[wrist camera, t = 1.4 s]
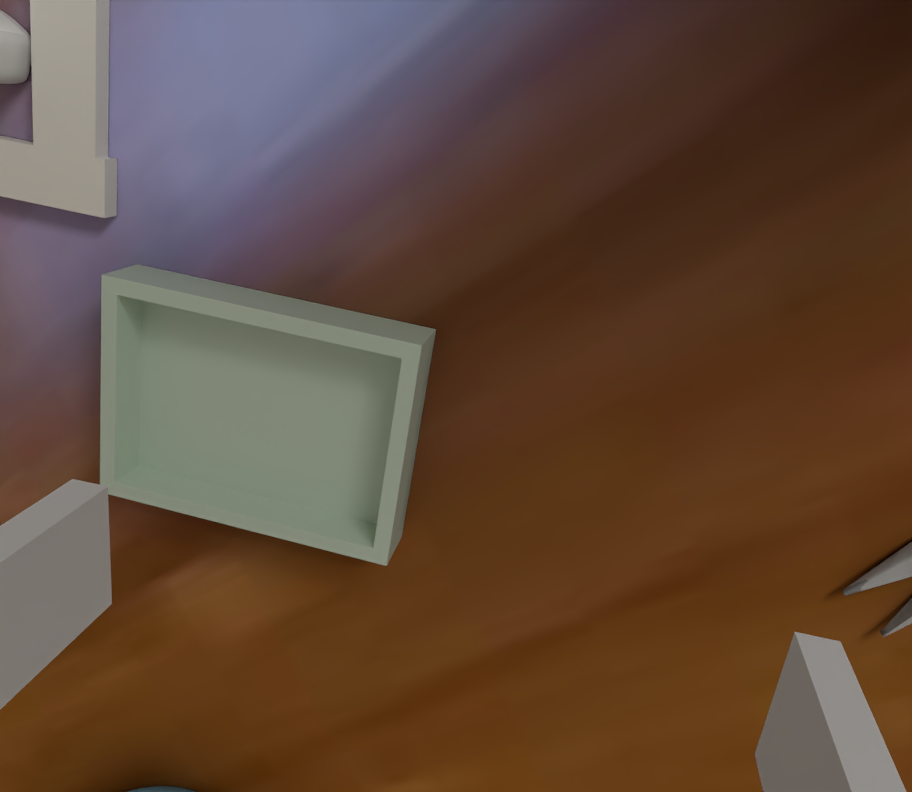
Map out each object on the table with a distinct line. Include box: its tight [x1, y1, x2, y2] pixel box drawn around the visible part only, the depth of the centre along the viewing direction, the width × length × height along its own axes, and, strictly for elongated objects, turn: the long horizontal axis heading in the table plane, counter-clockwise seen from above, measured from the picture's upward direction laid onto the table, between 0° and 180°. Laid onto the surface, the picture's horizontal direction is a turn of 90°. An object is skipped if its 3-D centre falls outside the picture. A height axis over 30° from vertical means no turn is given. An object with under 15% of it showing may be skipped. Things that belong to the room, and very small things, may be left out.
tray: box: [100, 264, 436, 566], centre depth 39 cm, size 12×16×3 cm
